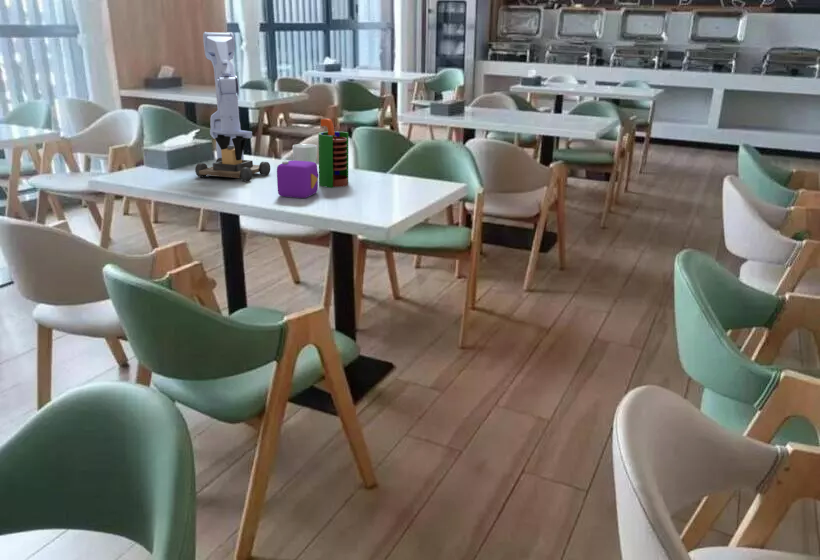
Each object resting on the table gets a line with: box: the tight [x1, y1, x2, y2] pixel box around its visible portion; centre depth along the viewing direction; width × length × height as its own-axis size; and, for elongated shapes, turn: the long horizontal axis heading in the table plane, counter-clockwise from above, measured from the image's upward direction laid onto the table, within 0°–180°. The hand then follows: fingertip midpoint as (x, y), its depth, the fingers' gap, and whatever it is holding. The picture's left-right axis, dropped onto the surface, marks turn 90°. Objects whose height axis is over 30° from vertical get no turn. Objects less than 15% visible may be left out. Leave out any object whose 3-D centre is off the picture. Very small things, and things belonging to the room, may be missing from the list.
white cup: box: [292, 143, 318, 165], centre depth 222 cm, size 8×8×10 cm
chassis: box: [194, 158, 271, 183], centre depth 221 cm, size 16×18×5 cm
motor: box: [317, 118, 349, 189], centre depth 209 cm, size 10×9×20 cm
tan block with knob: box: [221, 145, 242, 165], centre depth 219 cm, size 5×4×7 cm
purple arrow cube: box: [276, 159, 319, 199], centre depth 198 cm, size 11×14×10 cm
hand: (232, 159), depth 220 cm, fingers closed on tan block with knob, 4 cm apart
